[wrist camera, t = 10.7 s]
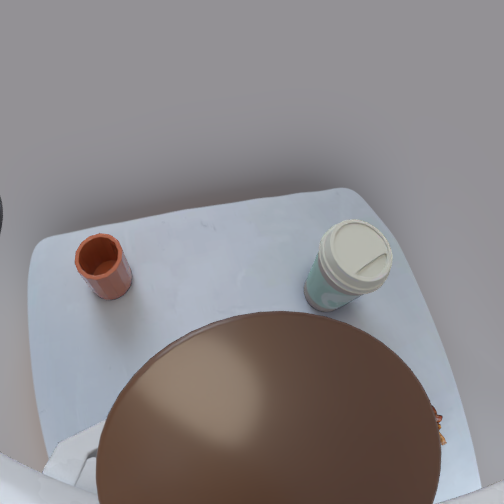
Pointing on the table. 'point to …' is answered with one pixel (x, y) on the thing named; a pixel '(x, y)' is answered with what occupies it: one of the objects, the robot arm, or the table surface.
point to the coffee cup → (347, 265)
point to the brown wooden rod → (271, 420)
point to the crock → (103, 266)
